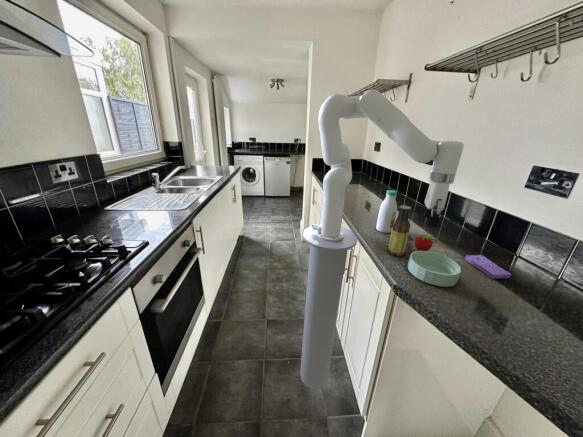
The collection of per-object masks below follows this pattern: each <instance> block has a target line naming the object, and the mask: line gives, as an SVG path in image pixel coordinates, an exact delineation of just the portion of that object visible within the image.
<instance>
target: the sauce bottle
mask: <svg viewBox="0 0 583 437" xmlns="http://www.w3.org/2000/svg"><path fill="white" fill-rule="evenodd" d="M411 211H412V207H411V206H408V205H400V206H398V214H397V217H396V218H395V222H394V224H393V226H392V232H390V237H389V243H388V252H389V253H390V254H391V255H393V256H395V257H396V256H397V257H402V256H404V255H405V253H406V248H407V244H408V239H409V235H410V228H411V222H410V220H409V218H410V213H411Z"/></svg>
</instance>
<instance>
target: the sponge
mask: <svg viewBox="0 0 583 437" xmlns="http://www.w3.org/2000/svg"><path fill="white" fill-rule="evenodd" d="M464 260H465V261H466V262H468V263H469V264H471V265H472V266H474V268H477V269H478V270H479V271H481V272H482V273H484V274H485V275H486V276H488V277H489V278H491V279H510V278H511V276H512V273H510V272H509V271H507V270H505V269H504V268H502V267H500V266H499V265H497V264H496V263H495V262H493V261H492V260H490V259H488V258H487V257H486V256H484V255H482V254H476V255H469V254H468V255H465V257H464Z"/></svg>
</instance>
